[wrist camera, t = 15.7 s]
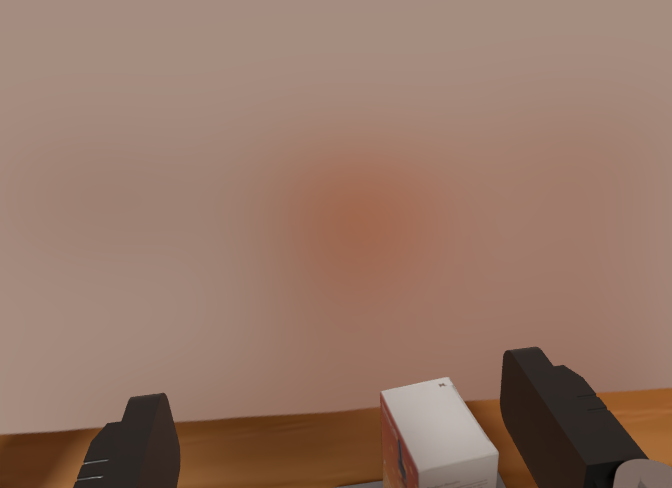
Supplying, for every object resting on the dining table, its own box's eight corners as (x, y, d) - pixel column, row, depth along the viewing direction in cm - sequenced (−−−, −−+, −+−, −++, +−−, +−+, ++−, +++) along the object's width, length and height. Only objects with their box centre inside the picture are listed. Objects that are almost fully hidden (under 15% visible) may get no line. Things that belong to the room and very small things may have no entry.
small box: (382, 489, 45) (377, 388, 41) (446, 473, 46) (448, 373, 42) (417, 582, 38) (416, 471, 34) (492, 561, 39) (500, 451, 35)
